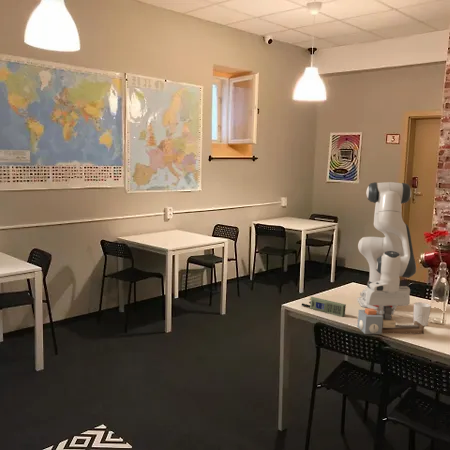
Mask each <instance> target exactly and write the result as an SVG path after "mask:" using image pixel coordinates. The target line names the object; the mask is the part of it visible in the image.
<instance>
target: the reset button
mask: <svg viewBox="0 0 450 450" xmlns="http://www.w3.org/2000/svg"><path fill="white" fill-rule="evenodd" d="M364 310H365V313H366V314H367V315H376V313H377V311H376V309H373V308H367V307H364Z"/></svg>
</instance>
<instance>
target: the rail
mask: <svg viewBox="0 0 450 450" xmlns="http://www.w3.org/2000/svg"><path fill="white" fill-rule="evenodd" d="M424 332H425V326H423V325H421V324H420V323H419V322H417V321H414V322H413V324H396V325H395V328H385V327H382V334H413V335H414V334H415V335H417V334H418V335H419V334H420V335H421V334H423V335H424Z"/></svg>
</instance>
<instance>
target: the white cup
mask: <svg viewBox="0 0 450 450" xmlns="http://www.w3.org/2000/svg"><path fill="white" fill-rule="evenodd" d="M431 308H432V307H431V304H430V303H426V302H421V301H420V302H419V301H417V302H416V301H415V302H414V303H413V315H412V316H413V323H414V321H417V322H419V323H420V324H421V325H423V326H424V327H425V326H428V325H429V320H430V314H431Z"/></svg>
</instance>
